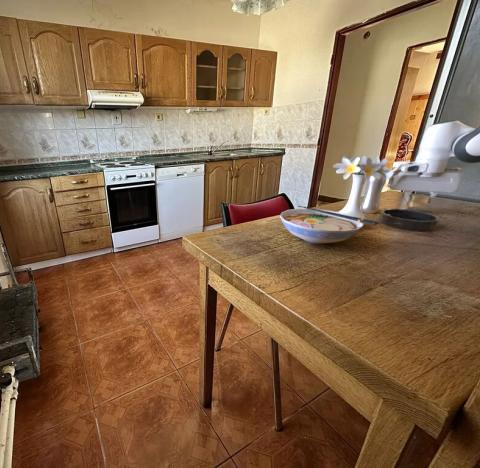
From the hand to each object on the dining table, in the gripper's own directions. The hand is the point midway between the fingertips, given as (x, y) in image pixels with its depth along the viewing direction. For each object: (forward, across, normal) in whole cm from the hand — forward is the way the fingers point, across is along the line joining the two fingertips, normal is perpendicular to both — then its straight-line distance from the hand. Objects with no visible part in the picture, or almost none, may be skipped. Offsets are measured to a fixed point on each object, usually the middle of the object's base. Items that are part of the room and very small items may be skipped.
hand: (416, 202), depth 103 cm
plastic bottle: (+5, +16, +2) cm, 17 cm away
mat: (+5, 0, 0) cm, 5 cm away
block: (+2, 0, 0) cm, 2 cm away
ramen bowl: (+6, +40, +41) cm, 57 cm away
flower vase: (+6, +27, +25) cm, 37 cm away
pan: (+5, +8, +16) cm, 19 cm away
